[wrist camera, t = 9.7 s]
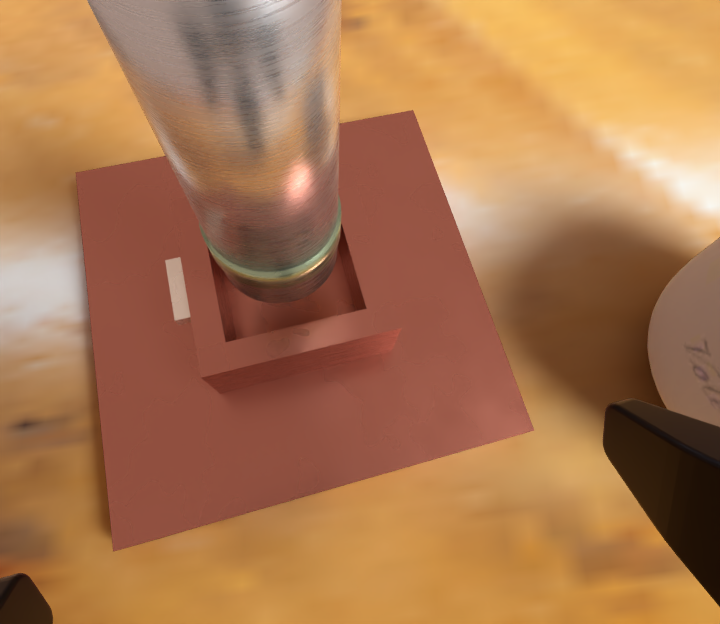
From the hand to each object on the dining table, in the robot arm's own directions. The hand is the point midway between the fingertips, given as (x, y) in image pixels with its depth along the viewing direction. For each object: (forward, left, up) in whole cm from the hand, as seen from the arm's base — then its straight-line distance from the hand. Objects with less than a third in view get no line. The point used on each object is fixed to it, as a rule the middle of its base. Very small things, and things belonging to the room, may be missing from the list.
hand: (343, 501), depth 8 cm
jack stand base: (+6, +6, -12) cm, 15 cm away
